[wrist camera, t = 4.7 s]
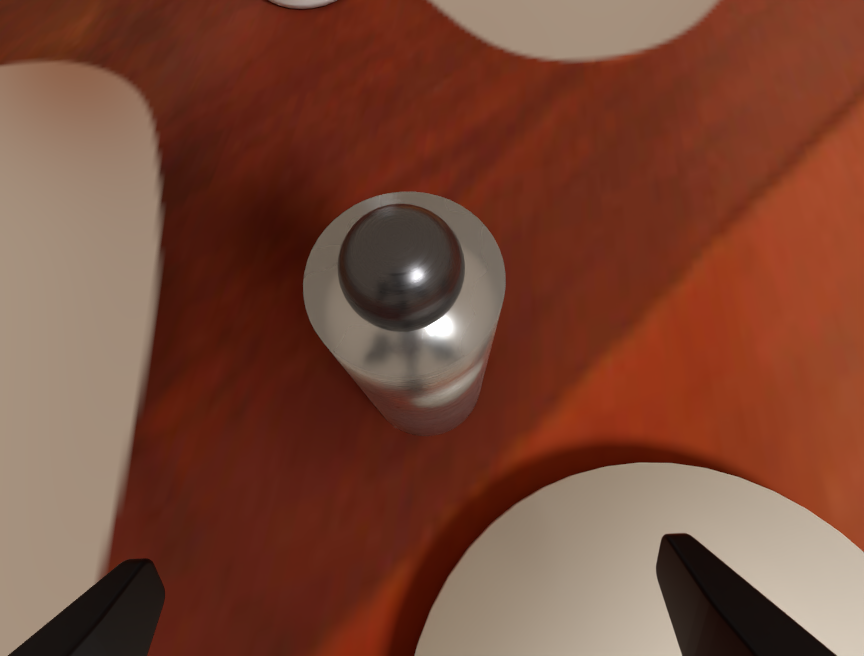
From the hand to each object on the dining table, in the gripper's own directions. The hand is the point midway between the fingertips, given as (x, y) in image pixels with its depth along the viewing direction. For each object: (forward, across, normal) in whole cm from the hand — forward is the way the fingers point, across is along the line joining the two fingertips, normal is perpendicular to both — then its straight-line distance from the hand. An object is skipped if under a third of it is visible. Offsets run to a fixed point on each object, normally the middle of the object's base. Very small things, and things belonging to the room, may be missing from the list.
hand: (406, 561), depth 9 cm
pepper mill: (+13, 0, +4) cm, 14 cm away
